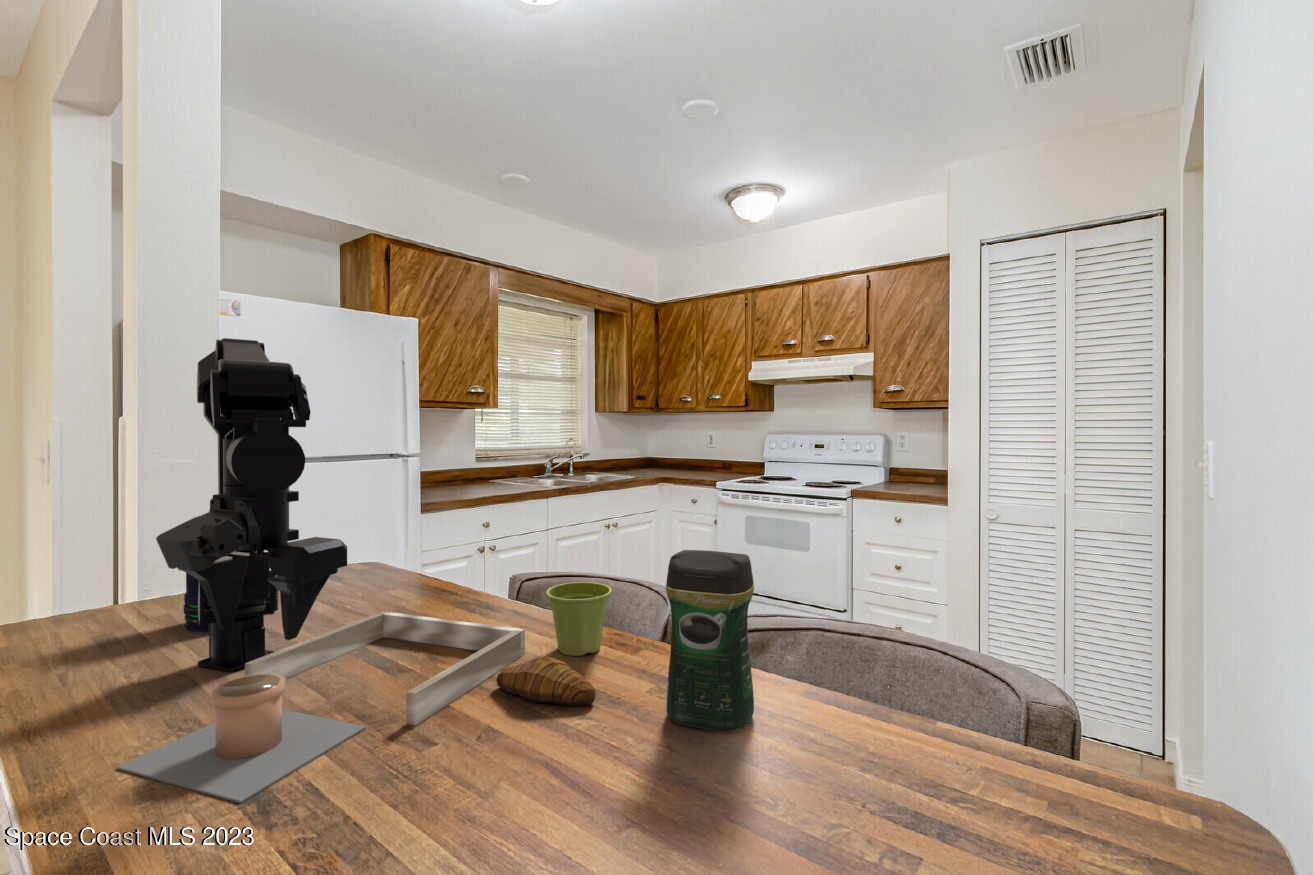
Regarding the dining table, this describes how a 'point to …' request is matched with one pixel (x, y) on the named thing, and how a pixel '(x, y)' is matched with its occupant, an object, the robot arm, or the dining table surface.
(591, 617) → the plant pot
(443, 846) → the dining table surface
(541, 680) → the croissant
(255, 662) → the metal u frame
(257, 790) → the grey mat
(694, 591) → the coffee jar
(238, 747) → the pot
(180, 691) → the dining table surface
